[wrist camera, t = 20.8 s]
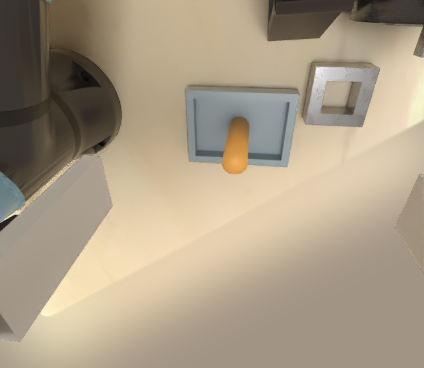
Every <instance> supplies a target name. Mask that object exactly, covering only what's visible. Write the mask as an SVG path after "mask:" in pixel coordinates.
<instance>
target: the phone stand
mask: <svg viewBox="0 0 424 368" xmlns="http://www.w3.org/2000/svg"><path fill="white" fill-rule="evenodd" d="M354 2H355V0H269V22H268V41H276V40H293V39H311V38H320V36H321V35H322V34H323V33H324V32H325V31H326V29H327V28H328V27H329V26H330V25H331V24H332V22H333V21H334V20H335V19H336V18H337V16H338V15H339V14H340V13H341V12H345V11H350V10H351V9H352V7H353V5H354Z"/></svg>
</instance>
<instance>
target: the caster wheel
mask: <svg viewBox="0 0 424 368" xmlns="http://www.w3.org/2000/svg"><path fill="white" fill-rule="evenodd" d="M350 20H353V21H360V22H373V23H381V24H384V25H396V26H423V29H422V31H421V34H420V37H419V40H418V42H417V45H416V48H415V51H414V54H413V55H416V56H419V57H424V0H355V2H354V5H353V9H352V13H351V17H350Z"/></svg>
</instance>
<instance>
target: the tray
mask: <svg viewBox="0 0 424 368" xmlns="http://www.w3.org/2000/svg"><path fill="white" fill-rule="evenodd" d="M185 92H186V112H187V132H188V152H189V162H205V163H222V159H223V154H224V150H225V145H226V140H227V136H228V131H229V126H230V122H231V121H232V120H233V119H234V118H236V117H243V118H245V119H247V121H248V122H249V144H248V162H247V165H257V166H275V167H287V166H288V161H289V155H290V149H291V143H292V137H293V131H294V125H295V119H296V113H297V107H298V101H299V95H300V94H299V92H298V90H297V89H282V88H249V87H216V86H188V88H187V89H186V90H185Z"/></svg>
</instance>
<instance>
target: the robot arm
mask: <svg viewBox="0 0 424 368" xmlns="http://www.w3.org/2000/svg"><path fill="white" fill-rule="evenodd" d="M49 3H51V0H0V222H1V221H3V220H4V219H5V218H7V217H8V216H9V215H11V214H12V213H14V212H15V211H16V210H19V209H21V208H22V207H23V206H24V205H25V202H26V201H27V200H28V199H29V198H31V197H32V196H33V195H34V194H35V193H36V192H37V191H38V190H39V189H41V188H42V187H43V186H44V185H45V184H46V183H47V182H48V181H49V180H51V179H52V178H53V177H54V176H55V175H56V174H57V173H58V172H60V171H61V170H62V169H63V168H64V167H65V166H66V165H67V164H68V163H69V162H71V161H72V160H75V159H79V158H80V159H79V160H78V161H77V162H76V163H75V164H74V165H72V166H71V167H70V168H69V169H68V170H67V171H66V172H65V173H64V174H63V175H62V176H60V177H59V178H58V179H57V180H56V181H55V182H54V183H53V184H52V185H51V186H50V187H48V188H47V189H46V190H45V191H44V192H43V193H42V194H41V195H40V196H39V197H38V198H37V199H35V200H34V201H33V202H32V203H31V204H30V205H29V206H28V207H27V208H26V209H25V210H23V211H22V212H21V213H20V214H19V215H13V216H12V217H10V218H8V219H6V220H4V221H3V222H1V223H0V339H4V340H10V341H18V342H20V341H21V340H22V338H23V337H24V335H25V334H26V332H27V331H28V330H29V328H30V326H31V325H32V324H33V322H34V321H35V319H36V318H37V316H38V315H39V313H40V312H41V310H42V309H43V307H44V306H45V305H46V303H47V302H48V300H49V299H50V297H51V296H52V294H53V293H54V291H55V290H56V288H57V287H58V285H59V284H60V282H61V281H62V280H63V278H64V277H65V275H66V274H67V272H68V271H69V269H70V268H71V266H72V265H73V263H74V262H75V260H76V259H77V257H78V256H79V255H80V253H81V252H82V250H83V249H84V247H85V246H86V244H87V243H88V241H89V240H90V238H91V237H92V235H93V234H94V232H95V231H96V230H97V228H98V227H99V225H100V224H101V222H102V221H103V219H104V218H105V216H106V215H107V213H108V212H109V210H110V209H111V207H112V202H111V198H110V193H109V189H108V185H107V181H106V177H105V173H104V169H103V164H102V160H101V156H93V155H92V154H95V153H97V152H99V151H101V150H102V149H104V148H105V147H106V146H107V145H108V144H109V143H110V142H111V141H112V140H113V139H114V138H115V136H116V135H117V133H118V131H119V128H120V124H121V107H120V102H119V99H118V96H117V93H116V91H115V89H114V87H113V85H112V84H111V82H110V81H109V79H108V78H107V77H106V75H105V74H104V73H103V72H102V71H101V70H100V69H99V68H98V67H97V66H96V65H95V64H94V63H92V62H91V61H90V60H88V59H87V58H85V57H83V56H81V55H79V54H77V53H75V52H72V51H69V50H64V49H49ZM395 229H396V230H397V232H398V234H399V235H400V237H401V238H402V240H403V242H404V243H405V245H406V246H407V248H408V249H409V251H410V253H411V254H412V256H413V257H414V259H415V261H416V262H417V264H418V265H419V267H420V269H421V270H422V272H423V273H424V175H423V174H419V176H418V178H417V180H416V183H415V185H414V187H413V189H412V191H411V193H410V195H409V197H408V200H407V202H406V204H405V206H404V208H403V210H402V213H401V215H400V217H399V219H398V221H397V223H396V225H395Z"/></svg>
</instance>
